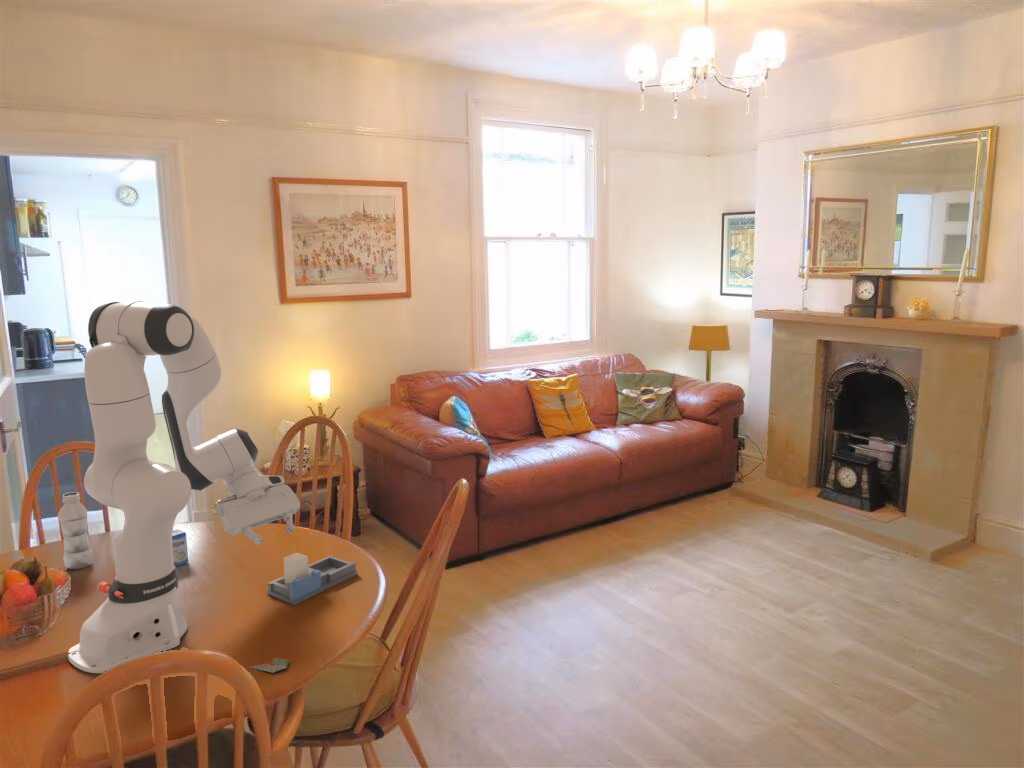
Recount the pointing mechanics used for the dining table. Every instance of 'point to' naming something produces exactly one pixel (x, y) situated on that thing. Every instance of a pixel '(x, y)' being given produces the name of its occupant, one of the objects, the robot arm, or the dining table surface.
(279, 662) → the map
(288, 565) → the white rectangular block
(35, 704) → the dining table surface
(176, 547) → the medicine box
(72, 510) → the plastic bottle
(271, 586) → the two-compartment grey tray
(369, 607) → the dining table surface
